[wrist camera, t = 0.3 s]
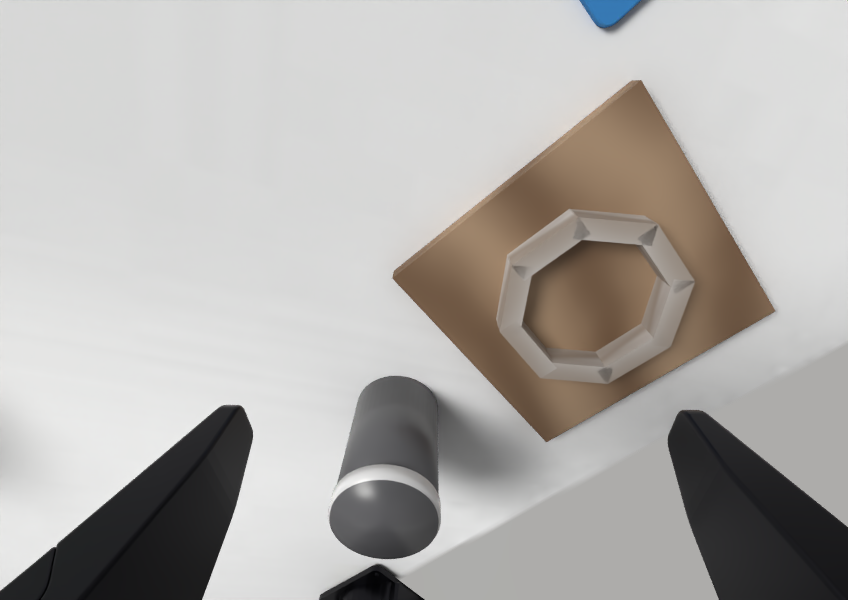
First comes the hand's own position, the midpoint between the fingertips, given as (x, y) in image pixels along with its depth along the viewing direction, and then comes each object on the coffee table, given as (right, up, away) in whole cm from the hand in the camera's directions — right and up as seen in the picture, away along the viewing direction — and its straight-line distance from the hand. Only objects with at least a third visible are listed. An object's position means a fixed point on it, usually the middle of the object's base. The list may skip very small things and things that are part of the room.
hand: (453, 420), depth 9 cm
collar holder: (+8, +3, +14) cm, 17 cm away
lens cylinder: (-2, -4, +18) cm, 19 cm away
